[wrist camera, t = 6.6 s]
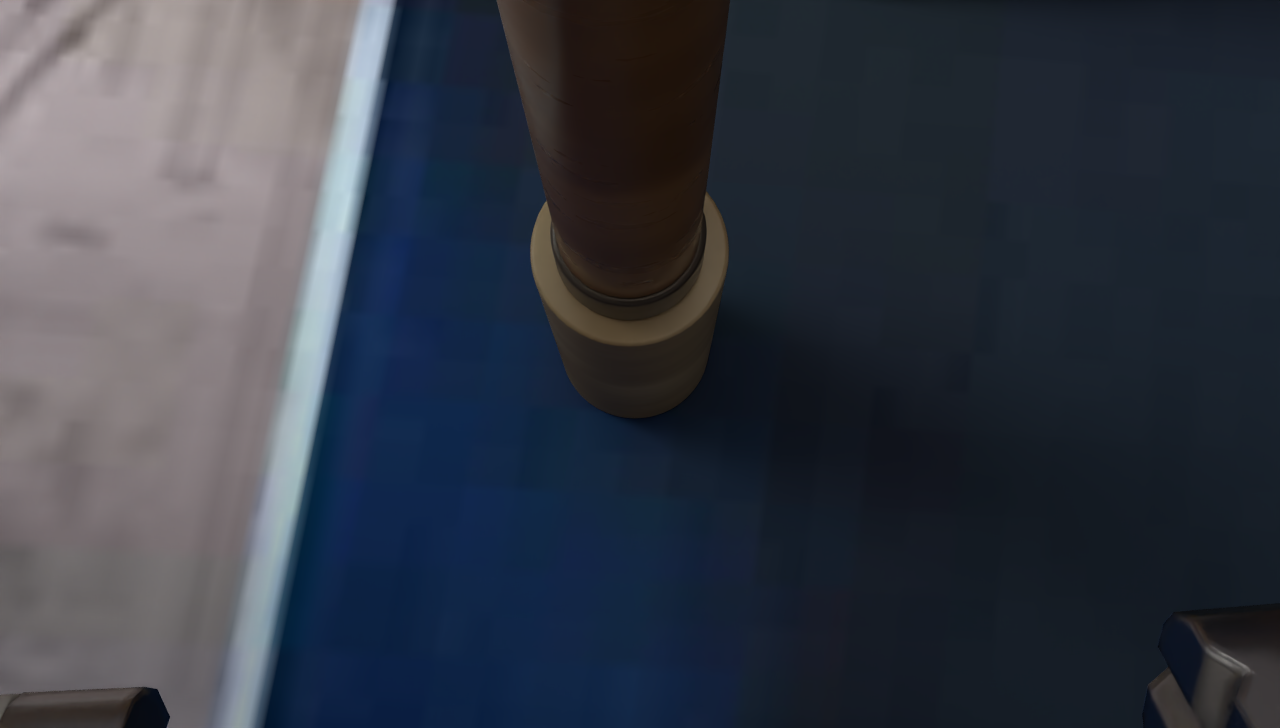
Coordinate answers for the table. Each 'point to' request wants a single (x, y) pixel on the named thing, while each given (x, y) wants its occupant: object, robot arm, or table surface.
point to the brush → (625, 189)
